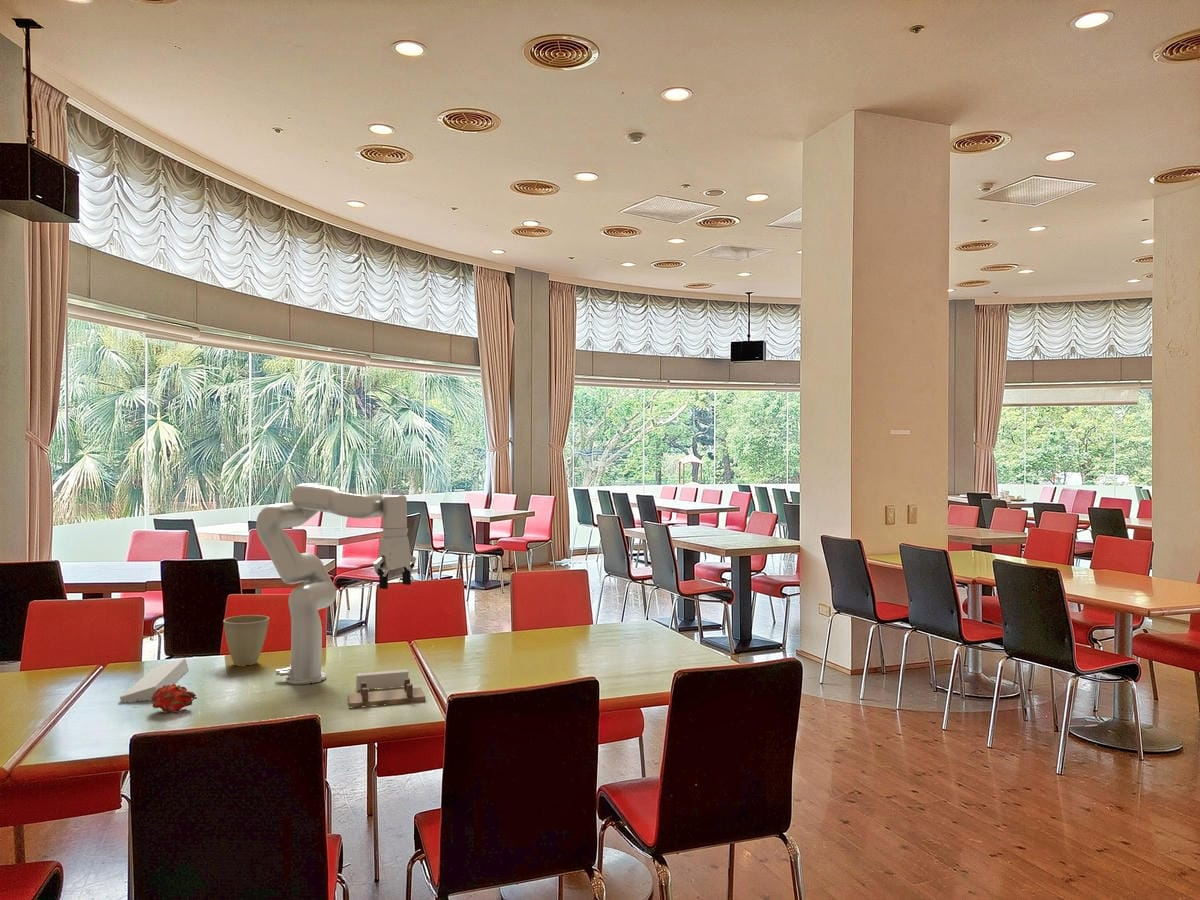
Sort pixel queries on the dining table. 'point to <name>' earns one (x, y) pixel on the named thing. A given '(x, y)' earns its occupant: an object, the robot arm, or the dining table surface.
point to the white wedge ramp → (156, 681)
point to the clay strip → (382, 679)
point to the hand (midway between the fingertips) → (395, 586)
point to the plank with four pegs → (386, 696)
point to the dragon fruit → (172, 698)
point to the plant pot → (245, 637)
